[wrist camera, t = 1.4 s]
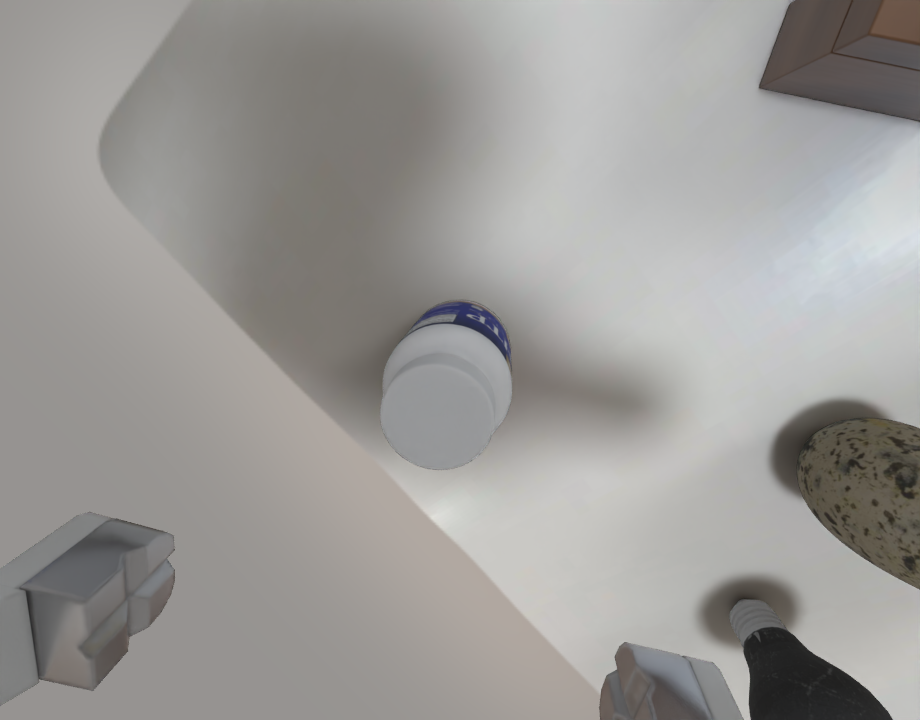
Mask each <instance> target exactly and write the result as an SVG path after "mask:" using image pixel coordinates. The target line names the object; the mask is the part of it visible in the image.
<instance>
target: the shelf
mask: <svg viewBox="0 0 920 720" xmlns="http://www.w3.org/2000/svg"><path fill="white" fill-rule="evenodd" d="M760 88H763V89H768V90H773V91H778V92H782V93H787V94H792V95H797V96H802V97H807V98H812V99H816V100H821V101H826V102H831V103H836V104H841V105H846V106H850V107H855V108H860V109H865V110H870V111H875V112H880V113H884V114H889V115H894V116H899V117H904V118H909V119H914V120H918V121H920V0H795V1H794V2H792V3H791V4H790V6H789V8H788V11H787V14H786V16H785V19H784V22H783V25H782V27H781V30H780V33H779V35H778V38H777V41H776V43H775V46H774V49H773V52H772V54H771V57H770V60H769V62H768V65H767V68H766V71H765V73H764V76H763V79H762V81H761V84H760Z"/></svg>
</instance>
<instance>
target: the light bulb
mask: <svg viewBox="0 0 920 720" xmlns="http://www.w3.org/2000/svg"><path fill="white" fill-rule="evenodd" d="M729 619H730V622H731V625H732V628H733V629H734V631H735V633H736V635H737V636H738V639H739V640H740V642H741V644H742V646H743V649H744V656H745V659H746V661H747V664H748V667H749V672H750V690H749V709H750V717H751V720H893V719H892V718H891V716H890V714H889V713H888V711H887V710H886V709H885V708H884V707H883V706H882V705H881V703H880V702H879V701H878V700H877V699H876V698H875V697H874V696H873V695H872V694H871V692H870V691H869V690H867V689H866V688H865V687H864V686H862V685H861V684H860V683H859V682H857V681H856V680H855V679H853V678H852V677H851V676H850V675H848V674H846V673H845V672H843V671H842V670H840V669H839V668H837V667H835V666H834V665H832V664H830V663H828V662H827V661H825V660H823V659H821V658H820V657H818V656H816V655H815V654H813V653H812V652H810V651H809V650H808V649H807V648H806V647H805V646H804V645H803V644H802V643H801V642H800V641H799V640H798V639H797V638H796V637H795V636H794V635H793V634H791V633H790V632H789V631H788V630H787V629H786V628H785V626H784V625H783V623H782V622H781V620H780V619H779V617H778V616H777V614H776V613H775V612H774V611H773V610H772V609H771V608H770V606H769V605H768V604H767V603H765V602H762V601H759V600H748V599H742V600H739V601H738V602H737V604H736V605H735V606H734V607H733V609H732V610H731V612H730V615H729Z"/></svg>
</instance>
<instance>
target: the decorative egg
mask: <svg viewBox="0 0 920 720" xmlns="http://www.w3.org/2000/svg"><path fill="white" fill-rule="evenodd" d="M797 479H798V484H799V488H800V491H801V493H802V496H803V498H804V500H805V502H806V503H807V505H808V507H809V508H810V510H811V511H812V513H813V514H814V515H815V516H816V518H817V519H818V520H819V521H820V522H821V523H822V524H823V525H824V526H825V527H826V528H827V529H828V530H829V531H830V532H831V533H832V534H833V535H834V536H835V537H836V538H837V539H839V540H840V541H841V542H842V543H844V544H845V545H846V546H848V547H849V548H850V549H852V550H853V551H854V552H856V553H857V554H859V555H860V556H861V557H863V558H864V559H866V560H868V561H869V562H871V563H872V564H874V565H876V566H877V567H879V568H881V569H882V570H884V571H886V572H887V573H889V574H891V575H893V576H895V577H897V578H898V579H900V580H902V581H904V582H906V583H908V584H910V585H912V586H914V587H916V588H918V589H920V429H919V428H917V427H914V426H911V425H907V424H904V423H900V422H896V421H892V420H885V419H876V418H857V419H850V420H844V421H840V422H836V423H834V424H831V425H829V426H826V427H824V428H823V429H821V430H819V431H818V432H816V433H815V434H814V435H812V436H811V437H810V438H809V439H808V441H807V442H806V443H805V445H804V446H803V448H802V450H801V452H800V454H799V458H798V462H797Z"/></svg>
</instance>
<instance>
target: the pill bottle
mask: <svg viewBox="0 0 920 720" xmlns="http://www.w3.org/2000/svg"><path fill="white" fill-rule="evenodd" d="M383 394H384V395H383V398H382V401H381V407H380V421H381V427H382V430H383V432H384V435H385V437H386V439H387V441H388V442H389V444H390V445H391V447H392V448H393V449H394V450H395V451H396V452H397V453H398V454H399V455H400V456H402V457H403V458H404V459H406V460H407V461H409V462H411V463H413V464H415V465H417V466H420V467H423V468H427V469H433V470H447V469H453V468H457V467H460V466H463V465H465V464H467V463H469V462H471V461H472V460H473V459H475V458H476V457H477V456H478V455H480V454H481V452H482V451H483V450H484V449H485V447H486V446H487V444H488V443H489V441H490V439H491V436H492V433H493V432H494V431H495V430H496V429H497V428H498V427H499V426H500V424H501V423H502V421H503V420H504V418H505V416H506V414H507V412H508V410H509V407H510V403H511V398H512V368H511V348H510V341H509V337H508V333H507V331H506V329H505V327H504V325H503V323H502V322H501V321H500V319H499V318H498V317H497V316H496V315H495V314H494V313H493V312H492V311H490V310H489V309H487V308H486V307H484V306H482V305H480V304H477V303H475V302H471V301H466V300H452V301H447V302H443V303H441V304H438V305H436V306H434V307H432V308H431V309H429V310H428V311H427V312H426V313H425V314H424V315H423V316H422V317H421V318H420V319H419V320H418V321H417V322H416V323H415V324H414V326H413V327H412V328H411V329H410V331H409V332H408V333H407V334H406V335H405V336H404V338H403V339H402V340H401V341H400V342H399V344H398V345H397V346H396V348H395V349H394V351H393V352H392V354H391V355H390V357H389V359H388V362H387V364H386V367H385V370H384V375H383Z"/></svg>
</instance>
